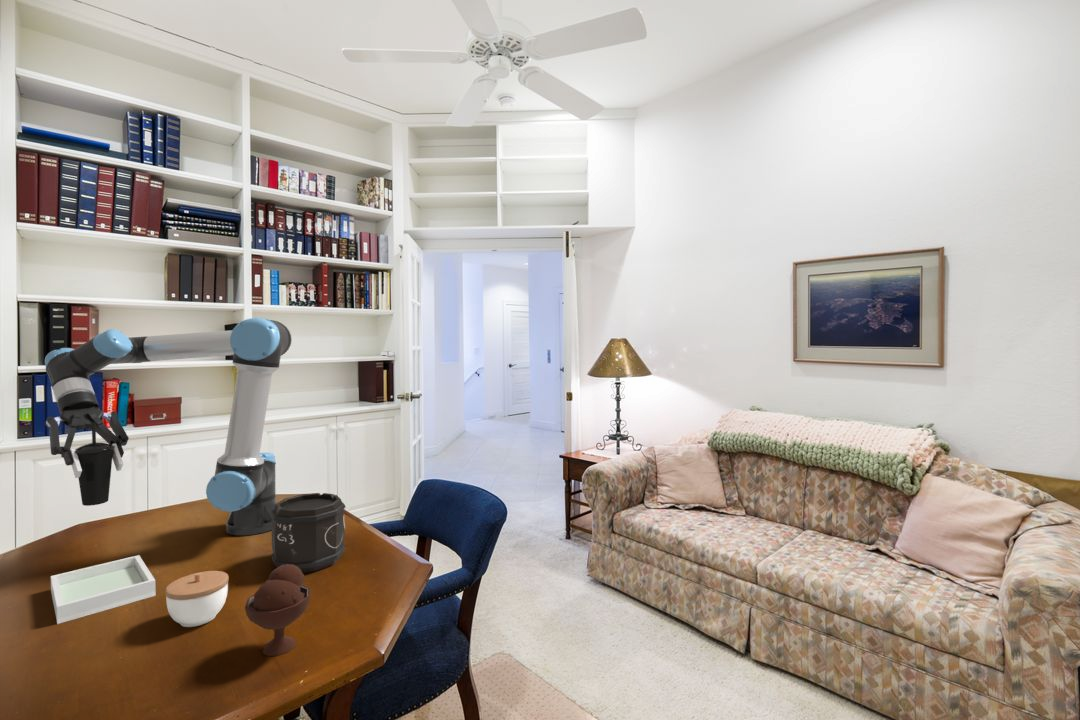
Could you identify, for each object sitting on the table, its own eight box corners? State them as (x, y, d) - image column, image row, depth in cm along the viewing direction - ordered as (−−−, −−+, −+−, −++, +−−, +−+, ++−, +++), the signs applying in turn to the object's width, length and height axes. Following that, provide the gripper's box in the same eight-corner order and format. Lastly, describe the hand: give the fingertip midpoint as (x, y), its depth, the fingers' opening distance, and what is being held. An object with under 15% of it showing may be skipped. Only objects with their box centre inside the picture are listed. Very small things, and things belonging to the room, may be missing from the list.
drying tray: (50, 591, 115) (50, 576, 115) (139, 568, 126) (139, 555, 126) (57, 624, 101) (56, 607, 101) (155, 595, 113) (155, 580, 113)
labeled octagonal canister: (348, 543, 143) (347, 488, 143) (343, 569, 126) (343, 507, 126) (278, 550, 138) (277, 494, 137) (263, 579, 121) (263, 514, 120)
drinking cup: (123, 499, 126) (121, 421, 125) (86, 509, 119) (84, 426, 118) (104, 496, 129) (102, 419, 128) (67, 505, 122) (65, 423, 121)
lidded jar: (240, 607, 108) (240, 564, 108) (202, 635, 97) (201, 587, 97) (194, 604, 109) (194, 561, 109) (152, 632, 98) (151, 585, 98)
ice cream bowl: (261, 632, 98) (260, 557, 98) (320, 629, 99) (319, 555, 99) (233, 666, 88) (232, 582, 87) (299, 663, 89) (298, 579, 88)
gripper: (120, 404, 140) (145, 471, 132) (19, 412, 123) (40, 489, 115) (127, 386, 137) (153, 453, 129) (24, 392, 120) (46, 470, 112)
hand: (99, 470), depth 122 cm, fingers closed on drinking cup, 7 cm apart
